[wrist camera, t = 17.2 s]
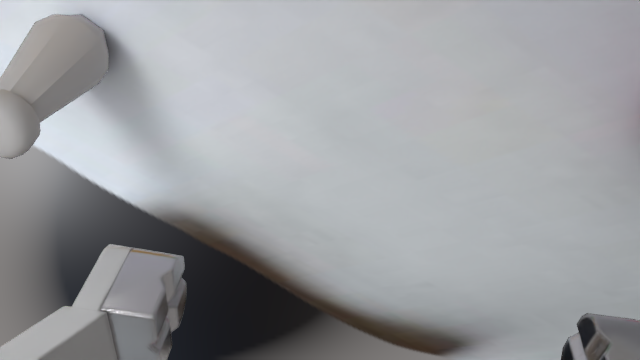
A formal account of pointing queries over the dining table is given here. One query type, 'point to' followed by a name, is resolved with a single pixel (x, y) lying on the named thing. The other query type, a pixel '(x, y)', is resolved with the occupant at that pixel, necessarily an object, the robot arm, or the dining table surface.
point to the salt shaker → (48, 76)
